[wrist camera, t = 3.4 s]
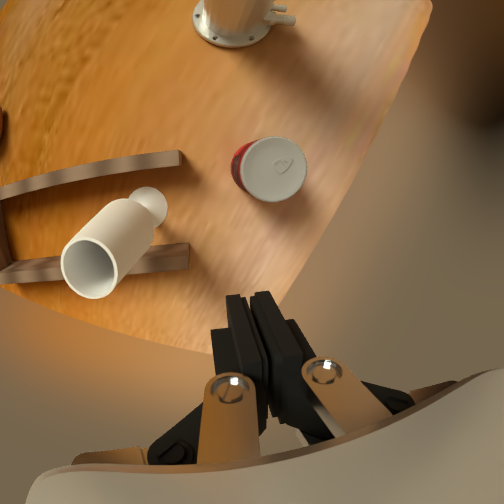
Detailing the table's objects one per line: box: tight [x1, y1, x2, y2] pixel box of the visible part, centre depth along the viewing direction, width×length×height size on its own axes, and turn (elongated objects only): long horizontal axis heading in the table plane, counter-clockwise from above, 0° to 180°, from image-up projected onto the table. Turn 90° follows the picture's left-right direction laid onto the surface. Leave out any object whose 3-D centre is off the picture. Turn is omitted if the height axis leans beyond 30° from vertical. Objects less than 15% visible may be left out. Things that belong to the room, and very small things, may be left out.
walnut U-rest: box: [0, 150, 190, 284], centre depth 34 cm, size 38×16×6 cm, turn 92°
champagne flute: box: [61, 187, 168, 299], centre depth 28 cm, size 7×7×24 cm
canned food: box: [231, 136, 307, 202], centre depth 35 cm, size 8×8×11 cm
